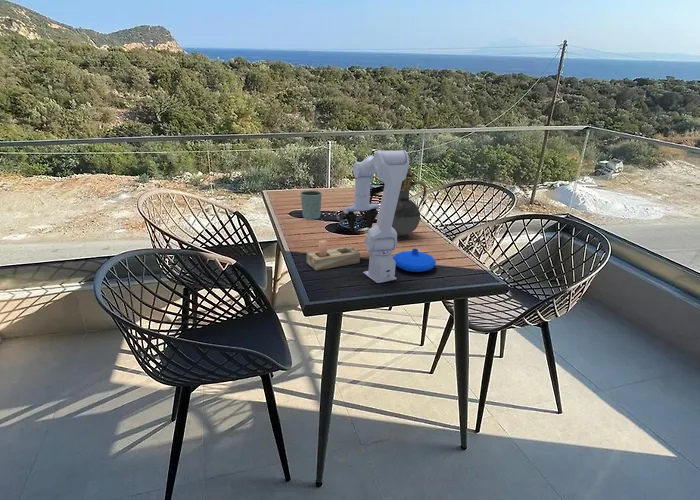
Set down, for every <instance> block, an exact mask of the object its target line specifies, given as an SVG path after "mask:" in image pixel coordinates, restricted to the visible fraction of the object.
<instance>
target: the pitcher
mask: <svg viewBox="0 0 700 500" xmlns="http://www.w3.org/2000/svg"><path fill="white" fill-rule="evenodd" d="M415 174H416V173H414V172H413V171H412V170H411V168H410V167H408V171H407V175H406V179H405V180H403V181H402V184H401V189H400V193H399V197H398V202H397V206H396V210H395V214H394V218H393V223H392V227H393V228H394V229H395V230H396V233H397V240H405V239H408V238H409V237H410V235H409V234H411V233H413V232H414V231H416V229H417V228H418V226H419V223H420V222H421V221H422V218H421V212H420V208H421V205H422V204H423V202H424V201H425V200H424V199H425V198H426V195H427V190H428V189H427V184H426V182H425V181H423V180H420V179H419V180H415V181H413V179H414V178H415V176H416V175H415ZM417 185H421V186H422V187H423V193H422V198H421V200H420V201H419V203H418V205H417V204H416V203H415V202H414V201H413V200H411V199H409V198H410V191H411V187H414V186H417Z"/></svg>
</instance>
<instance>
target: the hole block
mask: <svg viewBox="0 0 700 500" xmlns="http://www.w3.org/2000/svg"><path fill="white" fill-rule="evenodd" d="M318 251H319V250H314V251H309V252H306V264H307V265H308V266H310V267H311V268H312V269H313V270H314V271H321V270H329V269H332V268H338V267H344V266H348V265H353V264H359V263H361V262H360V260H361V252H360V251H358V250H357V249H355V248H354V247H353V246H351V245H345V246H339V247H333V248H327V256H326V257H318Z"/></svg>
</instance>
